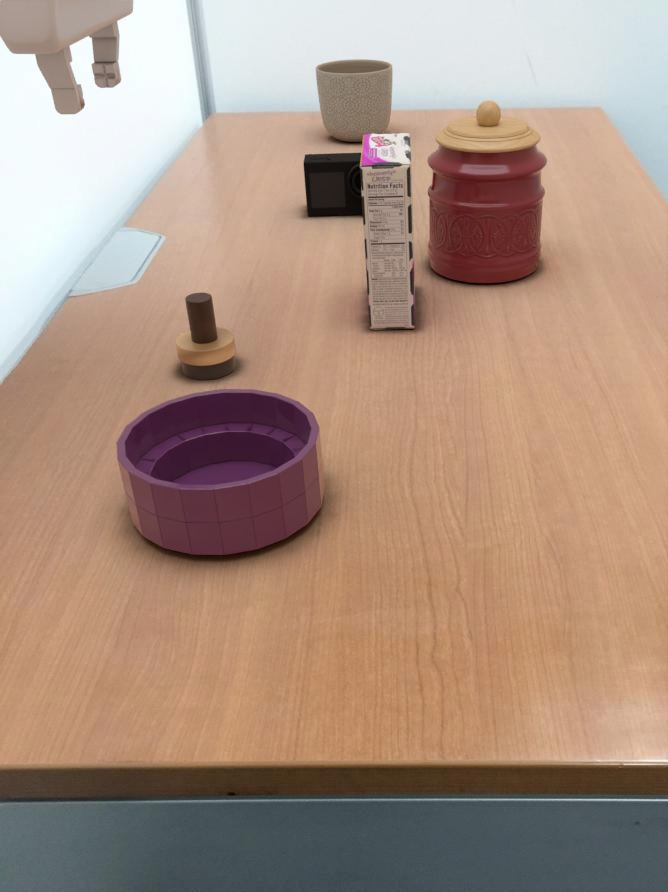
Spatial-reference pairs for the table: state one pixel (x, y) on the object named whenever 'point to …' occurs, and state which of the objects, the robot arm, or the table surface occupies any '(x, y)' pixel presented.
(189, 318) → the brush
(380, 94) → the planter
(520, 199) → the kitchen canister
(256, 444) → the bowl
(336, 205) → the digital camera
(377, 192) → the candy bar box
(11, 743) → the table surface
